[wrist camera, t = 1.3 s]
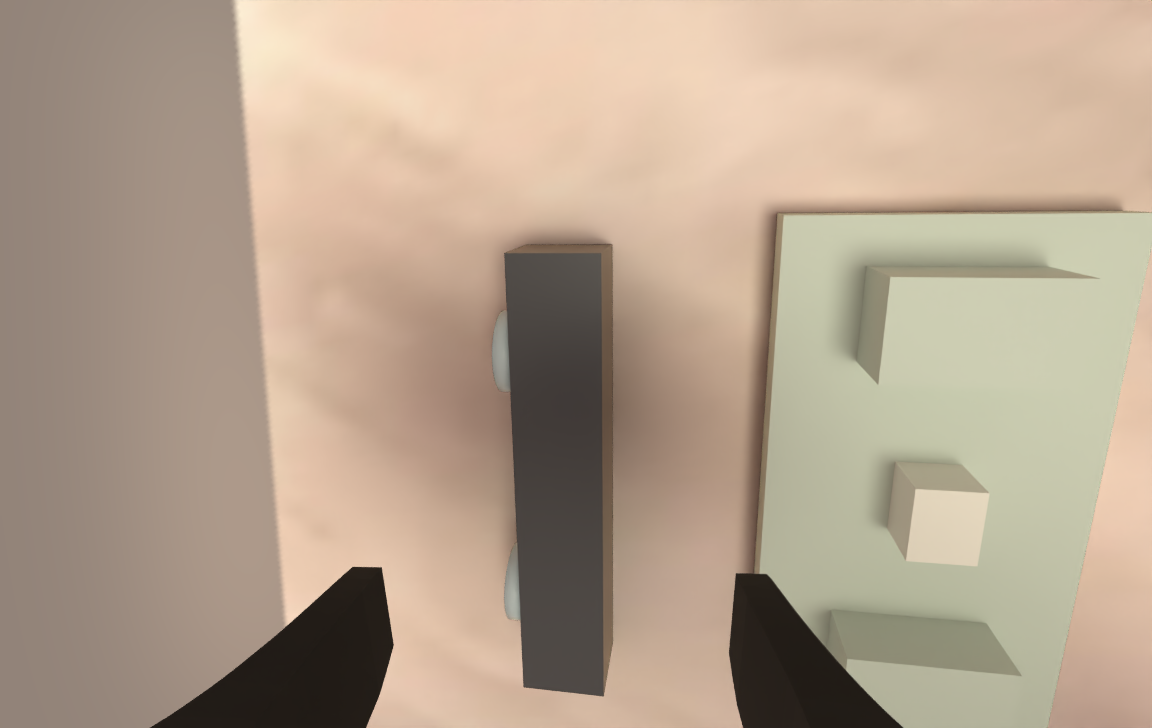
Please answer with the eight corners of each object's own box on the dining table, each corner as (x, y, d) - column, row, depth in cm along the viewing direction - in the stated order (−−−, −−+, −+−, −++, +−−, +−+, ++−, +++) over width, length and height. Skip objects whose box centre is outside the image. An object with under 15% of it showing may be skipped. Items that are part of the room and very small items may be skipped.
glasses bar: (612, 641, 27) (603, 696, 24) (527, 632, 27) (507, 685, 24) (612, 244, 22) (601, 253, 19) (511, 244, 23) (485, 253, 20)
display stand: (1024, 707, 24) (1086, 805, 20) (747, 677, 26) (757, 763, 22) (1124, 210, 19) (1230, 217, 16) (777, 213, 21) (796, 219, 17)
